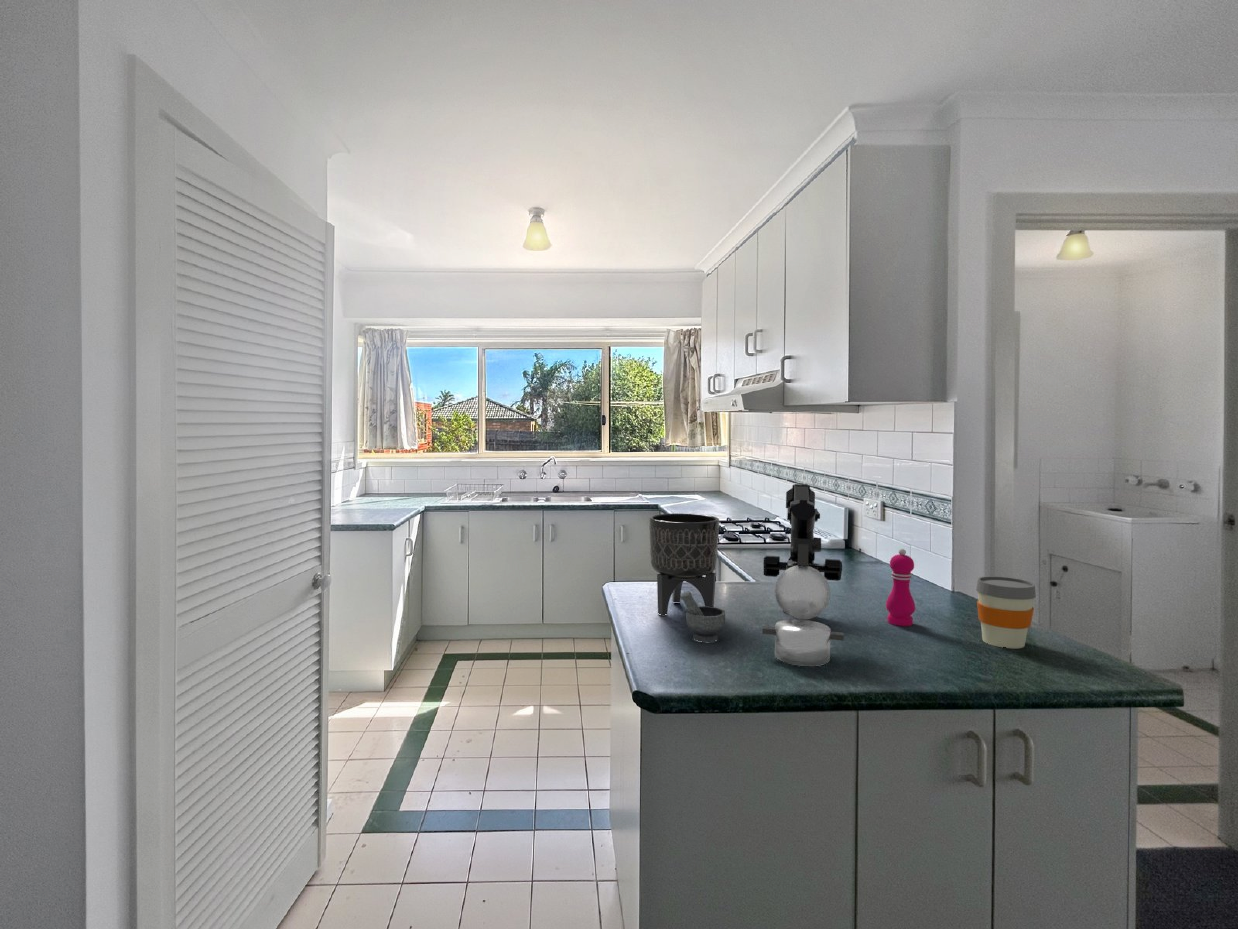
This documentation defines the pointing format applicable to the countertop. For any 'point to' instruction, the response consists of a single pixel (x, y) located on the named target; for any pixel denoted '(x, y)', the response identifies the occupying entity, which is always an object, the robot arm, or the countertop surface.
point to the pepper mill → (901, 591)
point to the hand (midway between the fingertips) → (801, 597)
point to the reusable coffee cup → (1005, 610)
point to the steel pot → (802, 641)
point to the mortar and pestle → (703, 619)
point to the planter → (683, 555)
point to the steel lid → (802, 589)
